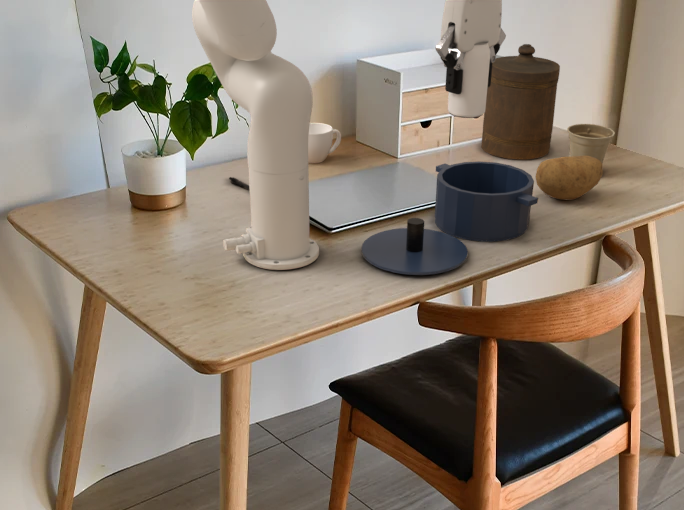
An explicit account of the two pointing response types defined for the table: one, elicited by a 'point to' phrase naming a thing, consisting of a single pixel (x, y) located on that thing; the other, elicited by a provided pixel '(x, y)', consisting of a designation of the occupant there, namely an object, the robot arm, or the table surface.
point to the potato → (568, 176)
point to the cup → (321, 141)
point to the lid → (414, 250)
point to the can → (472, 84)
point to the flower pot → (589, 140)
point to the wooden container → (520, 106)
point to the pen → (239, 183)
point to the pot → (483, 200)
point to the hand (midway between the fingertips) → (468, 88)
